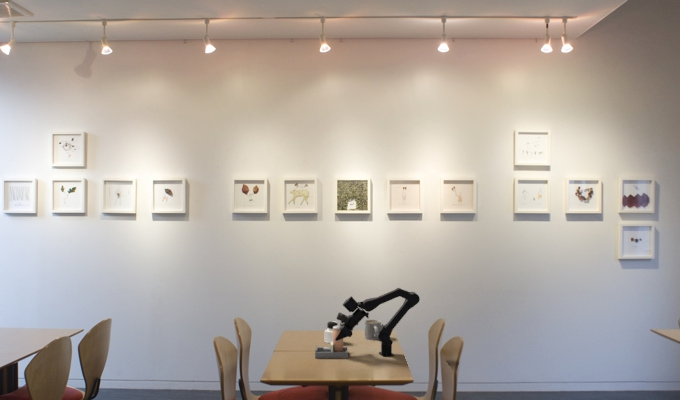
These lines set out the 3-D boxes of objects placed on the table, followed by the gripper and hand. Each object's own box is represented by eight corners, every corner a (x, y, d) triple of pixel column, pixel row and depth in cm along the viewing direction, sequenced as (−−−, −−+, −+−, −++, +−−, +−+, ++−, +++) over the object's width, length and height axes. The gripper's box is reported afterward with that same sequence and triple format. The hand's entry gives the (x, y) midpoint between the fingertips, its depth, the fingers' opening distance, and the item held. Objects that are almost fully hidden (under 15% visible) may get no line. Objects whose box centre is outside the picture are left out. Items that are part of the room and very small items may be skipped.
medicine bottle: (333, 344, 276) (333, 324, 276) (324, 342, 280) (324, 322, 280) (340, 341, 281) (340, 321, 282) (331, 339, 286) (331, 320, 286)
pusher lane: (347, 352, 260) (347, 345, 261) (348, 357, 251) (348, 350, 251) (315, 352, 260) (315, 345, 260) (315, 358, 250) (315, 350, 250)
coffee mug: (364, 335, 295) (364, 319, 295) (380, 335, 295) (379, 319, 295) (365, 341, 282) (365, 324, 282) (382, 341, 282) (382, 324, 282)
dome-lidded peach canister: (345, 350, 256) (345, 326, 257) (339, 353, 252) (339, 328, 252) (336, 348, 260) (336, 325, 260) (330, 351, 255) (330, 327, 255)
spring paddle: (332, 351, 259) (332, 341, 259) (333, 355, 252) (333, 345, 252) (323, 351, 259) (323, 341, 259) (323, 355, 252) (323, 345, 252)
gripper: (344, 304, 265) (325, 324, 265) (345, 311, 247) (325, 332, 246) (358, 318, 266) (339, 337, 265) (360, 326, 247) (340, 347, 246)
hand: (335, 338), depth 256 cm, fingers closed on dome-lidded peach canister, 6 cm apart
